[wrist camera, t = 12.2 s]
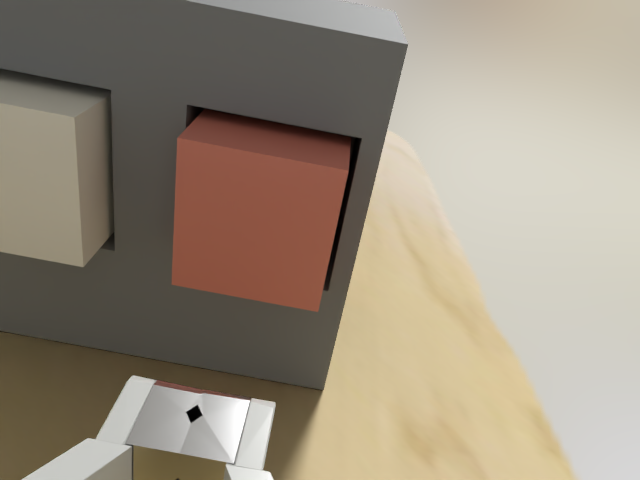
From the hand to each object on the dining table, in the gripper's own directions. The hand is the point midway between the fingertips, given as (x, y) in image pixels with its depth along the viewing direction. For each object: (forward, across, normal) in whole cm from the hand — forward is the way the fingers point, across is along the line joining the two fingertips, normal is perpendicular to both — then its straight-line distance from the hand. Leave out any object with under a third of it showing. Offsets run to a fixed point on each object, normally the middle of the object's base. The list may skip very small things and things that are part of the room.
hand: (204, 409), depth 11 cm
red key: (+8, 0, -2) cm, 9 cm away
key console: (+13, -4, -8) cm, 15 cm away
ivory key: (+8, -8, -2) cm, 12 cm away
